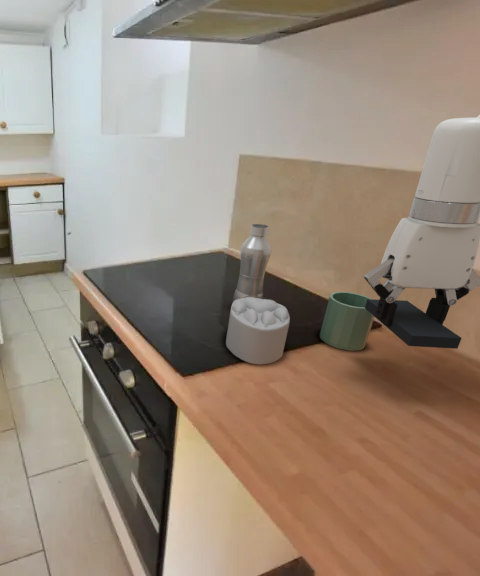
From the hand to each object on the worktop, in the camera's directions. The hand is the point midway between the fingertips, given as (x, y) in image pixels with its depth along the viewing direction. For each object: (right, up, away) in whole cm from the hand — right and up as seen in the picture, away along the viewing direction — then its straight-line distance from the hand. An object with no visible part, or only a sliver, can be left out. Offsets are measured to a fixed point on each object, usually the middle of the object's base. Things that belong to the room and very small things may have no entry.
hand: (407, 322), depth 61 cm
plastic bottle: (-15, 0, +28) cm, 32 cm away
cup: (-1, -5, +15) cm, 16 cm away
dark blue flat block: (0, -1, 0) cm, 1 cm away
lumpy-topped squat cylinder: (-19, -6, +13) cm, 24 cm away
